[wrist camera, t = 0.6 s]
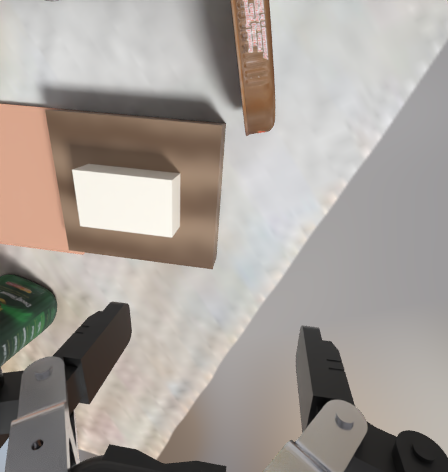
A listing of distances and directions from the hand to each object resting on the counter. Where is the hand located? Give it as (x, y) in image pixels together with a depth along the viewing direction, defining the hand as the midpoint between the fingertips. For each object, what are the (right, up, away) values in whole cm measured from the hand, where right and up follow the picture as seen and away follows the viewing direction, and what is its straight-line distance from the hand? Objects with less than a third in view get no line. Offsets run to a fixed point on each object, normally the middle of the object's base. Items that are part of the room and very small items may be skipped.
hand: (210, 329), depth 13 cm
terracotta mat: (-24, +11, +23) cm, 35 cm away
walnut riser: (-9, +10, +21) cm, 25 cm away
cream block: (-9, +9, +19) cm, 22 cm away
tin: (+3, +22, +14) cm, 27 cm away
